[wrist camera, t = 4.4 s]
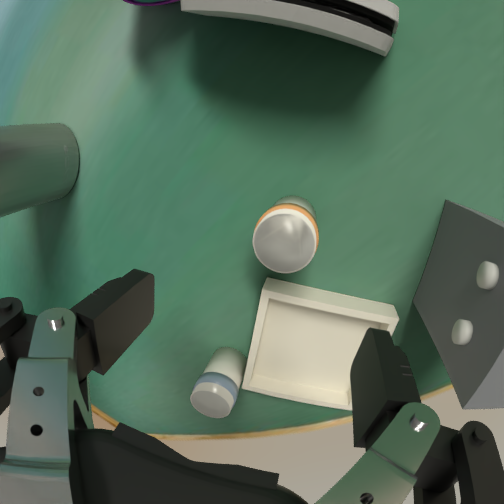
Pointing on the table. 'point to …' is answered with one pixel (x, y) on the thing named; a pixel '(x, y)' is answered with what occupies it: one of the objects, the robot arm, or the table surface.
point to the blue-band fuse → (219, 383)
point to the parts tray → (310, 342)
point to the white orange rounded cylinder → (287, 235)
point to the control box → (467, 303)
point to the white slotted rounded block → (315, 17)
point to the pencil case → (150, 2)
